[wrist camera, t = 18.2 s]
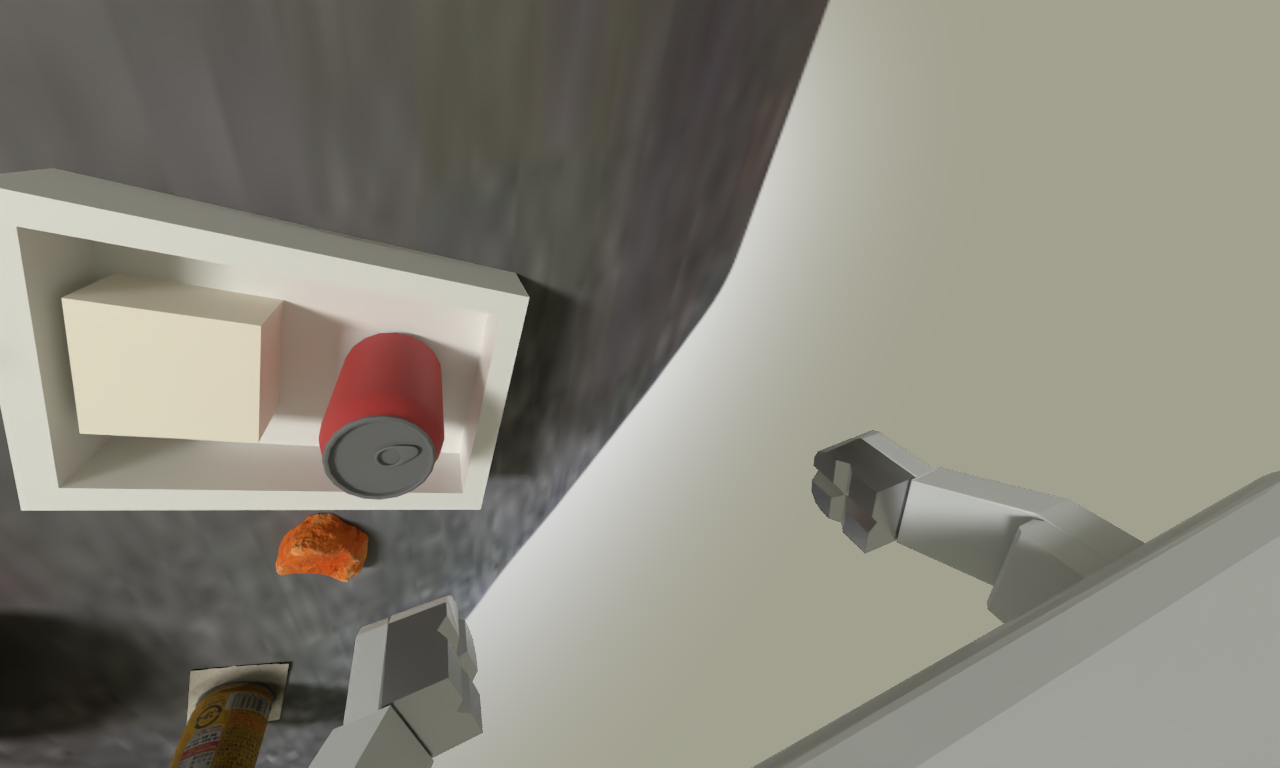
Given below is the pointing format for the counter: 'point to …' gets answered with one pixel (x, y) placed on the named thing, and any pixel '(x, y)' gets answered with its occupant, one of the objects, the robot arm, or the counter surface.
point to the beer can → (384, 418)
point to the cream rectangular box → (173, 359)
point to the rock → (323, 548)
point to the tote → (310, 353)
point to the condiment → (229, 715)
